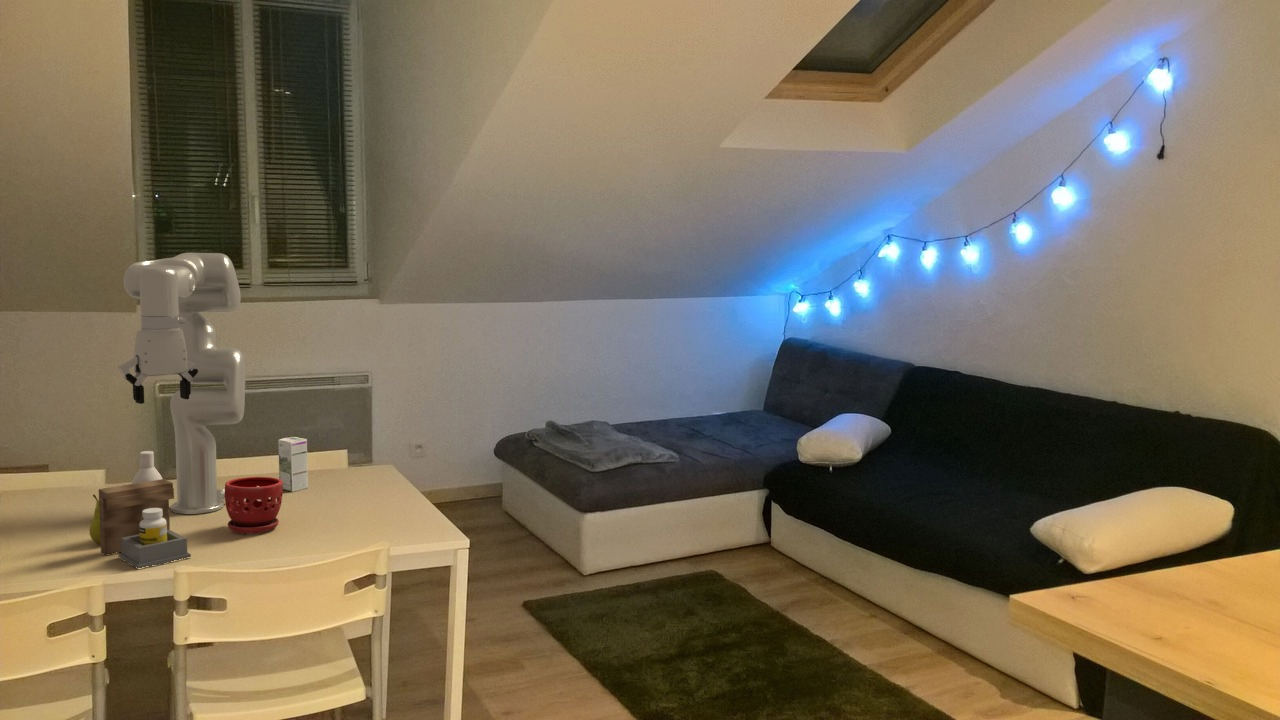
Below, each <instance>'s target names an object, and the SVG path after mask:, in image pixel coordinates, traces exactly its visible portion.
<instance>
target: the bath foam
mask: <svg viewBox="0 0 1280 720" xmlns="http://www.w3.org/2000/svg"><path fill="white" fill-rule="evenodd" d="M154 456H155V453H154V451H153V450H145V451H141V452H139V467H140V468H139V469H138V471H136V473H135V475H134V477H133V478H132V481H131V482H132V483H131V484H136V483H142V482H148V481H155V480H161V479H163V477H162V475H161V474H160V472H159V471H158V470H157V469H156V467H155V457H154Z"/></svg>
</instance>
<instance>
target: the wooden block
mask: <svg viewBox="0 0 1280 720" xmlns="http://www.w3.org/2000/svg"><path fill="white" fill-rule="evenodd" d="M174 489H175V488H174V483H173V482H172V481H169V480H167V479H165V478H162V479H161V480H155V481H148V482H142V483H136V484H132V483H131V484H130V483H129V484H124V485H118V486H110V487H105V488H99V489H98V500H99V514H100V539H101V544H100V554H102V553H103V554H104V556H105V555H106V556H108V555H107V554H111V555H113V554H112V553H116V552H121V538H123V537H128V536H133V535H139V534H140V532H139V524H140V522H141V521H142V520H144V518H143V516H142V511H143V510H145V509H149V508H161V509H162V510H163V516H162V518H164V519H165V520H166V522H167V529H169V530H171V528H170V526H171V525H170V500H173V499H175V495H174V494H175V493H174V491H175V490H174ZM103 554H102V555H103ZM116 554H117V553H116Z"/></svg>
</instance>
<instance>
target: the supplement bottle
mask: <svg viewBox="0 0 1280 720" xmlns="http://www.w3.org/2000/svg"><path fill="white" fill-rule="evenodd" d="M142 516H143V518H144V520H142V521H141V522H140V524H139V532H140V544H141V545H142V546H144V545H149V544H154V543H159V542H164V541H167V522H166V520H165V519H164V518H162V516H163V510H162V509H161V508H149V509H145V510H143V511H142Z"/></svg>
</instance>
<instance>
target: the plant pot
mask: <svg viewBox="0 0 1280 720" xmlns="http://www.w3.org/2000/svg"><path fill="white" fill-rule="evenodd" d="M224 489H225V497H224V504H225V508H226V512H227V514H228V516H229V518H230V520H229V521H228V522H227V526H228V528H229V529H230V530H231V531H232V532H234V533H237V534H243V535H251V534H252V535H253V534H254V535H255V534H262V533H266V532H269V531H272V530H274V529H275V528H276V527H277V526H278V525H279V522H280V521H279V518H278V514H279V512H280V509H281V507H282V501H283V491H284V490H283V482H282V480H280V479H279V478H276V477H269V476H248V477H246V476H245V477H241V478H240V477H239V478H234V479H231V480H227V481H226V482H225V484H224Z"/></svg>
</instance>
